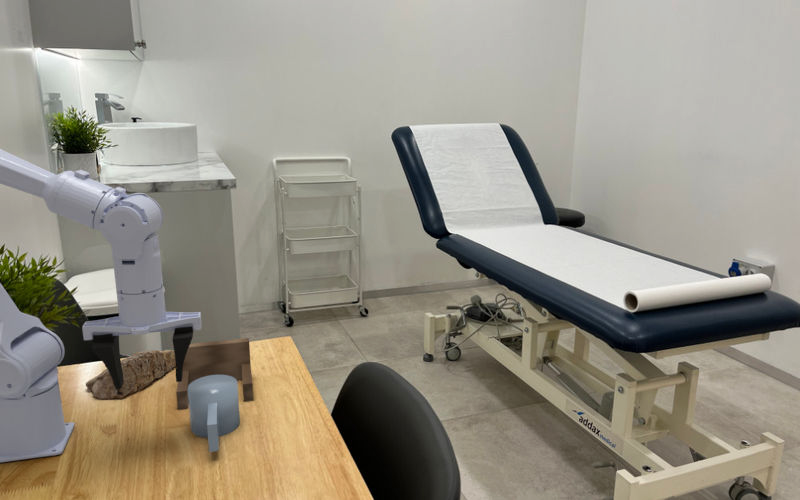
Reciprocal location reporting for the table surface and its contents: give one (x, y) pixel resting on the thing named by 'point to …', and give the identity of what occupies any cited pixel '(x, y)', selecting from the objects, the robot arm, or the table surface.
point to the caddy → (216, 365)
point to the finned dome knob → (213, 407)
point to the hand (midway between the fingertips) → (149, 382)
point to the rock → (133, 374)
